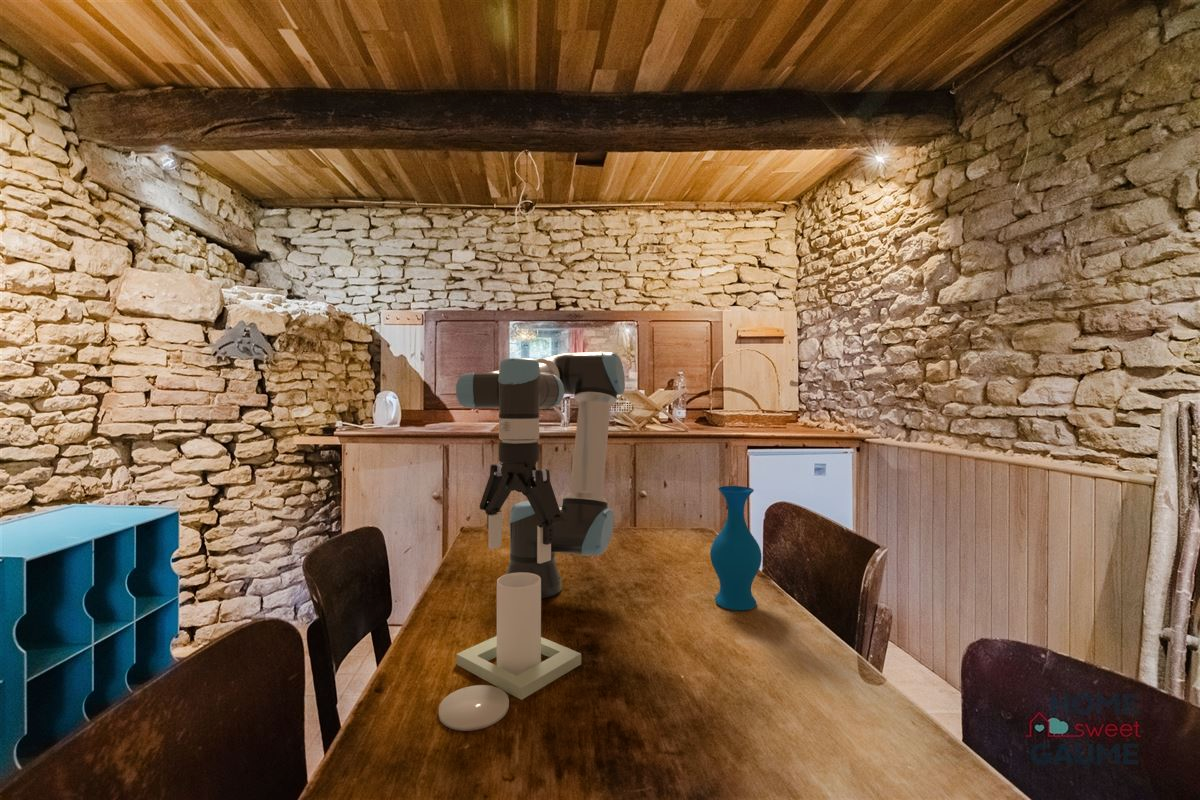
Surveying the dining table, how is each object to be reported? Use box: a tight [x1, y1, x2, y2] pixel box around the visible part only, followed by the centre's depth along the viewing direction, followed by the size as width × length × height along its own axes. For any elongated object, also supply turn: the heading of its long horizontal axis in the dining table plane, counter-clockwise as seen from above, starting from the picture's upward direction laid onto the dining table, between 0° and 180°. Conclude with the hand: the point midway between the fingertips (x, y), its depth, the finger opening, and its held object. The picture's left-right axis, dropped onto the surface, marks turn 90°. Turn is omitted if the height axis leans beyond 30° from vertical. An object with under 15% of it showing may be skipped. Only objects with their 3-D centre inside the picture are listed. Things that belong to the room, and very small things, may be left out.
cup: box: [496, 572, 542, 676], centre depth 98 cm, size 8×8×16 cm
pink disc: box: [438, 684, 510, 732], centre depth 84 cm, size 11×11×1 cm
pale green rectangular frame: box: [455, 635, 582, 701], centre depth 98 cm, size 18×15×2 cm
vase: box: [709, 485, 763, 612], centre depth 127 cm, size 12×13×28 cm
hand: (518, 554), depth 98 cm, fingers open, 13 cm apart
